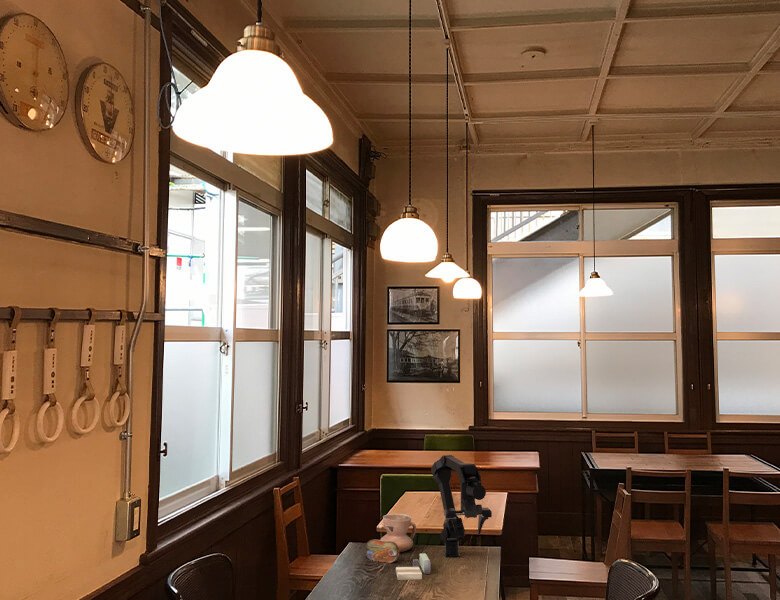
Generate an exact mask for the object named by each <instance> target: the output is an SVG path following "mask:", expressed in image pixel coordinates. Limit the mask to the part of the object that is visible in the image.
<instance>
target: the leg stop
mask: <svg viewBox="0 0 780 600" xmlns="http://www.w3.org/2000/svg"><path fill="white" fill-rule="evenodd" d="M412 567H419V568H420V559H418V558H415V559H414V558H413V559H412Z"/></svg>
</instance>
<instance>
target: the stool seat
mask: <svg viewBox="0 0 780 600" xmlns="http://www.w3.org/2000/svg"><path fill="white" fill-rule="evenodd" d="M421 570H422V569H421V567H420V566H419V567H413V566H396V567H395V574H396V578H397V580H398V581H403V580H405V581H407V580H410V581H411V580H423V573H422V571H421Z"/></svg>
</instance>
